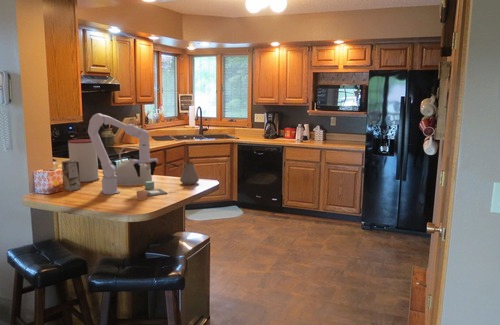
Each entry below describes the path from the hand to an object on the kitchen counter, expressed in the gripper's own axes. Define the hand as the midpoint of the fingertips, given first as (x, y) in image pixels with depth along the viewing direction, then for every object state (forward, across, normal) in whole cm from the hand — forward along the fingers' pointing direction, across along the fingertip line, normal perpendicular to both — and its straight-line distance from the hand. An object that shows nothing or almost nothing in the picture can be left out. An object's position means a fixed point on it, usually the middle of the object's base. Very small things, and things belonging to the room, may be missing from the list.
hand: (145, 175), depth 237 cm
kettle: (+9, +3, +28) cm, 29 cm away
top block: (+9, -8, -15) cm, 19 cm away
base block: (+9, +4, +5) cm, 11 cm away
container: (+9, -23, +48) cm, 54 cm away
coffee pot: (+9, +24, +3) cm, 26 cm away
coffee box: (+9, -34, +27) cm, 45 cm away
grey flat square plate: (+9, +2, -7) cm, 11 cm away
